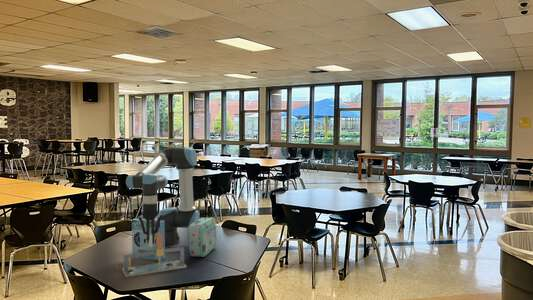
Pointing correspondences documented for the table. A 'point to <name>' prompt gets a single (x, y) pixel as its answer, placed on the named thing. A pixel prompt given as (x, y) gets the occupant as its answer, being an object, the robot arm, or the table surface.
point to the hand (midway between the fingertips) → (150, 246)
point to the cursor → (159, 246)
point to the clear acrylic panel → (126, 256)
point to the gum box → (145, 239)
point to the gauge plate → (154, 268)
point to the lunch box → (202, 237)
